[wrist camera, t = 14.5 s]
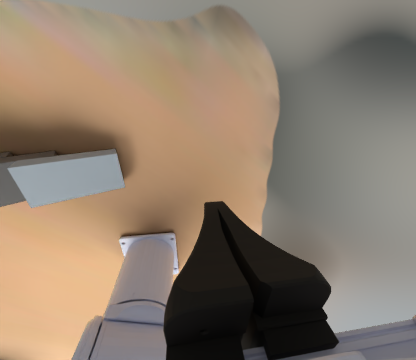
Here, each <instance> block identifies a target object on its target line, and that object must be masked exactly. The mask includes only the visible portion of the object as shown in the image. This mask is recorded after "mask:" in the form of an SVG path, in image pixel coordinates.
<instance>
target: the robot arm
mask: <svg viewBox="0 0 416 360" xmlns="http://www.w3.org/2000/svg"><path fill="white" fill-rule="evenodd" d="M119 242H120V245H121V249H122V252H123V255H124V261H123V264H122V266H121V269H120V272H119V275H118V277H117V280H116V283H115V286H114V289H113V291H112V294H111V297H110V300H109V303H108V305H107V308H106V311H105V313H104V315H103V317H102V316H98V315H97V316H95V317H94V319H92V320H91V321H89V322H88V323H87V325H86V327H85V329H84V332H83V334H82V336H81V339H80V341H79V343H78V346H77V348H76V350H75V353H74V355H73V357H72V360H416V315H415V316H414V317H413V319H411V320H405V321H400V322H395V323H389V324H383V325H378V326H372V327H367V328H361V329H356V330H350V331H345V332H339V333H334V332H333V331H332V329H331V328H330V326H329V325H328V323H327V321H326V320H327V318H328V317H327V315H326V313H325V312H324V310H323V309H322V307H323V305H324V304H325V302H326V301H327V299H328V298H329V295H330V293H331V286H330V285H329V283H328V282H327V281H326V279H325V278H324V277H323V275H322V274H321V273H320V271H319V270H318V269H317V268H316V267H315V266H314V265H313V264H310V263H308V262H306V261H304V260H302V259H299V258H297V257H295V256H293V255H291V254H289V253H287V252H285V251H284V250H282V249H280V248H278V247H276V246H275V245H273V244H272V243H270V242H268V241H267V240H265V239H264V238H262V237H261V236H259V235H258V234H257V233H255V232H254V231H253V230H251V229H250V228H249V227H248V226H247V225H246V224H244V223H243V222H242V221H241V220H240V219H239V218H238V217H237V216H236V215H235V214H234V213H233V212H232V211H231V210H230V209H229V207H228V206H227V205H226V204H225V203H224V202H223V201H220V202H206V203H205V204H204V220H203V224H202V228H201V231H200V234H199V237H198V239H197V242H196V244H195V246H194V249H193V251H192V253H191V255H190V257H189V258H188V260H187V262H186V264H185V266H184V267H183V269H182V270H181V272H180V273H179V268H178V258H177V248H176V238H175V234H174V233H161V234H150V235H138V236H126V237H121V238H120V239H119ZM123 242H124V243H123ZM177 273H179V275H178V276H177V278H176V279H175V281H174V283H173V274H177ZM172 285H173V286H172Z"/></svg>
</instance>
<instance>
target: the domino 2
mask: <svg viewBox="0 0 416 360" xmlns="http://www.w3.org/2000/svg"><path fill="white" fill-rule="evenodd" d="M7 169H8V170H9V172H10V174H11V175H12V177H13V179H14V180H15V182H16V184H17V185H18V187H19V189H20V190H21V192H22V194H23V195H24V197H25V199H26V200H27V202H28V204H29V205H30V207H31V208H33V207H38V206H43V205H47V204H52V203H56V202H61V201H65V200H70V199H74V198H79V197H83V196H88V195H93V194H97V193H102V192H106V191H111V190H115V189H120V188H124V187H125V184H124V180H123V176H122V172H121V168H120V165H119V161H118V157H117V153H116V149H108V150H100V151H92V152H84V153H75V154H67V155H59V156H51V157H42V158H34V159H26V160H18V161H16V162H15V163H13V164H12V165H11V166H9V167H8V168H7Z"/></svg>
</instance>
